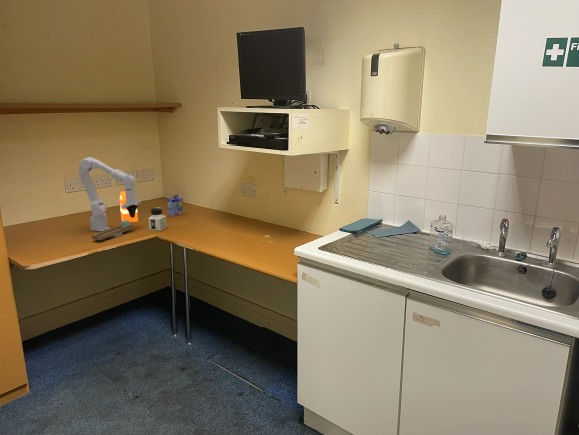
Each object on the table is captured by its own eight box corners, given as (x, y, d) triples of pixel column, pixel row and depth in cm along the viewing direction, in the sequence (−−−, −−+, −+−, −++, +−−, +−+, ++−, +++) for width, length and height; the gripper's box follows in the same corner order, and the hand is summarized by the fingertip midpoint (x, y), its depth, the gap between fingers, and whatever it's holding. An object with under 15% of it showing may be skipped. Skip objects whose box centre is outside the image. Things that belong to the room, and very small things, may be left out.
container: (160, 230, 272) (159, 210, 269) (149, 229, 274) (147, 209, 270) (166, 227, 280) (165, 207, 276) (155, 226, 281) (153, 206, 278)
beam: (91, 241, 251) (90, 235, 250) (124, 229, 274) (124, 223, 273) (101, 243, 248) (101, 236, 247) (135, 231, 271) (134, 225, 270)
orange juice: (138, 221, 293) (135, 191, 288) (124, 223, 289) (121, 192, 283) (134, 218, 300) (132, 189, 295) (121, 220, 295) (118, 190, 290)
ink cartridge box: (173, 217, 304) (171, 196, 300) (167, 215, 307) (166, 195, 303) (184, 214, 312) (182, 193, 308) (178, 213, 315) (177, 192, 311)
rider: (121, 227, 268) (120, 221, 267) (125, 226, 271) (125, 219, 270) (124, 228, 267) (124, 221, 266) (129, 226, 270) (129, 220, 269)
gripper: (127, 198, 262) (129, 220, 266) (144, 193, 275) (145, 215, 278) (117, 197, 265) (120, 219, 268) (135, 192, 278) (137, 214, 281)
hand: (132, 217), depth 274 cm, fingers closed
